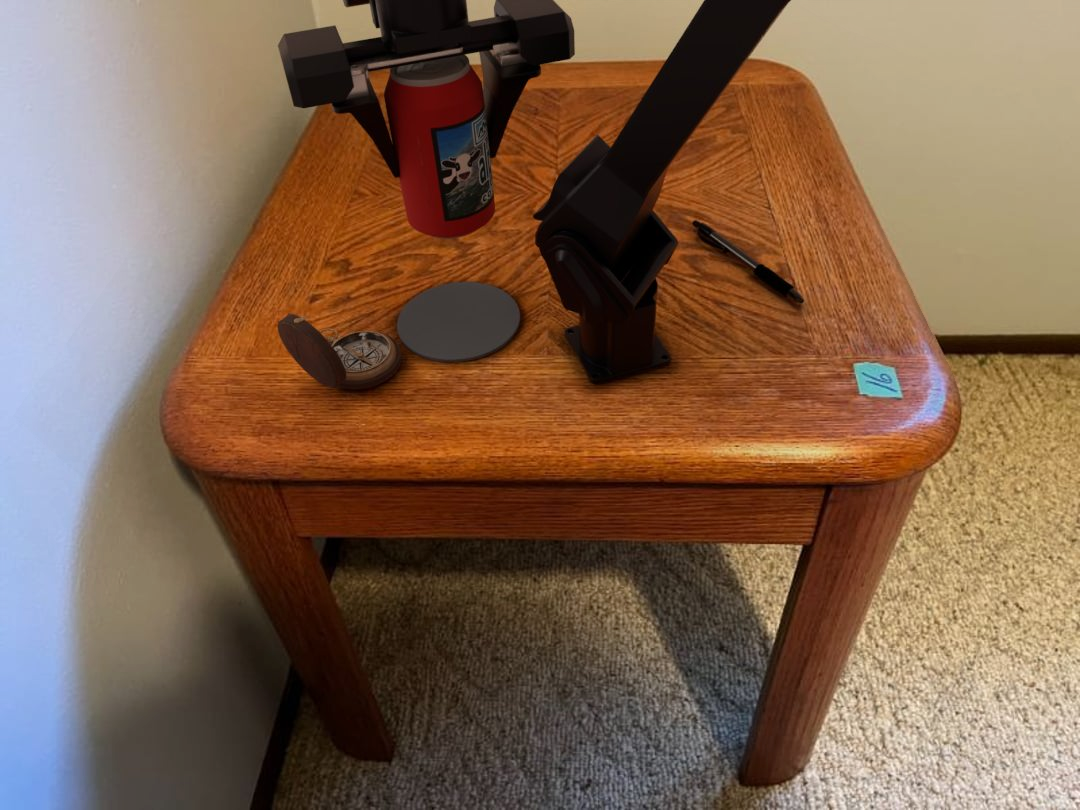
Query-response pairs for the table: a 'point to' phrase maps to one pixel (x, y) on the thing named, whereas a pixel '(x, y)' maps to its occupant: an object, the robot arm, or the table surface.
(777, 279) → the pen
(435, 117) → the beverage can
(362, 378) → the compass
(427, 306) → the felt coaster
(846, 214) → the table surface
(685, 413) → the table surface
